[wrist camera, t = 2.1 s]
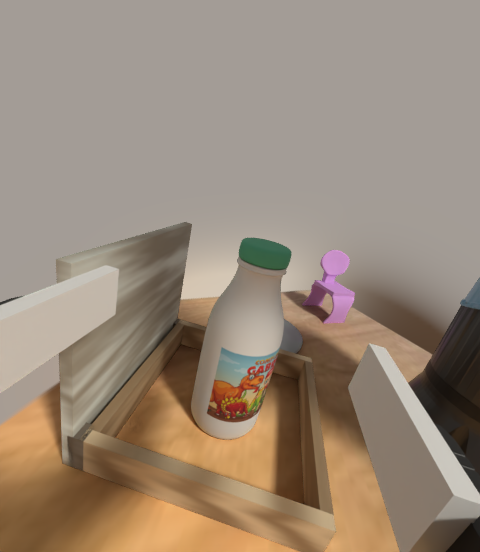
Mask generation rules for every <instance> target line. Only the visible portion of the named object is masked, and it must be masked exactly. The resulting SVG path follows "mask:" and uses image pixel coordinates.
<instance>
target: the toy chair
mask: <svg viewBox="0 0 480 552" xmlns="http://www.w3.org/2000/svg"><path fill="white" fill-rule="evenodd" d="M348 265H349V258H348V256H347V255H346V254H344V253H343V252H341V251H338V250H331V251H329V252H328V253H326V254H325V255H324V256H323V257H322V259H321V266H322V268H323V269H324V275H323V279H322V281H321V280H315V282H314V284H313V285H312V289H311V293H310V295H309V297H308V298H307V299H306V300H305V302H304V303H303V304H302V305H322V303H323V299H324V296H325V295H326V293H328V294H330V295H331V297H332V302H333V310H332V312H331V314H330V315H329V316H328V317H327V318H326V319H325V320H324V321H323V323H342V322H345V318H346V315H347V313H348V311H349V309H350V307H351V305H352V304H353V302H354V295H355V293H354V292H353V291H351V290H349V289H347V288H345V287H343V286H342V285H341V284H339V283H338V282H336V281H334V280H335V278H336V276H337V275H340V274H342V273H344V272H345V271H346V269H347V267H348Z"/></svg>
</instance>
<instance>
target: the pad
mask: <svg viewBox="0 0 480 552" xmlns="http://www.w3.org/2000/svg"><path fill="white" fill-rule="evenodd" d="M302 343H303V339H302V336H301V334H300V332H299V331H298V330H297V328H296V327H295V326H293V325H292V324H291V323H290V322H288V321H287V320H285V319H284V331H283V337H282V341H281V345H280V349H282V350H285V351H289V352H292V353H295V354H297V353H298V352H299V351H300V349H301V346H302Z"/></svg>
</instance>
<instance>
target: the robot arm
mask: <svg viewBox="0 0 480 552" xmlns="http://www.w3.org/2000/svg"><path fill="white" fill-rule="evenodd" d="M118 277H119V269H117V268H114V267H111V266H107V265H105V266H102V267H100V268H97V269H94V270H92V271H89V272H86V273H84V274H81V275H79V276H76V277H73V278H71V279H68V280H65V281H63V282H60V283H58V284H55V285H52V286H50V287H47V288H44V289H42V290H39V291H36V292H34V293H31V294H29V295H26V296H21V297H16V298H11V299H9V300H6V301H3V302H0V393H2V392H3V391H5V390H6V389H8V388H9V387H11V386H12V385H13V384H15V383H16V382H18V381H19V380H21V379H22V378H24V377H25V376H27V375H28V374H29V373H31V372H32V371H34V370H35V369H37V368H38V367H40V366H41V365H43V364H44V363H45V362H47V361H48V360H50V359H51V358H53V357H54V356H55V355H57V354H59V353H60V352H61V351H63V350H64V349H66V348H67V347H69V346H70V345H72V344H73V343H75V342H76V341H77V340H79V339H80V338H82V337H83V336H85V335H86V334H88V333H89V332H91V331H92V330H93V329H95V328H96V327H98V326H99V325H101V324H102V323H104V322H105V321H107V320H108V319H109V318H111V317H112V316H114V315H115V314H116V302H117V289H118ZM460 304H461V307H460V309H459V310H458V312H457V314H456V316H455V317H454V319H453V321H452V322H451V324H450V326H449V328H448V329H447V331H446V333H445V335H444V336H443V338H442V340H441V342H440V343H439V346H438V347H437V349H436V350H435V352H434V354H433V355H432V357H431V359H430V361H429V362H428V364H427V366H426V367H425V369H424V371H423V372H422V373H420V374H419V375H418V376H416V377H415V378H414V379H413V380H411V381H410V382H409V383H407V381H406V380H405V378H404V376H403V375H402V373H401V372H400V370H399V369H398V367H397V366H396V364H395V362H394V361H393V359H392V358H391V356H390V355H389V353H388V352H387V350H386V349H385V348H383V347H380V346H377V345H373V344H370V343H369V344H368V347H367V349H366V351H365V353H364V355H363V357H362V359H361V361H360V363H359V365H358V367H357V370H356V372H355V374H354V376H353V378H352V380H351V382H350V384H349V386H348V390H349V393H350V396H351V399H352V402H353V405H354V409H355V412H356V415H357V418H358V421H359V424H360V427H361V431H362V434H363V437H364V440H365V443H366V446H367V449H368V453H369V456H370V459H371V462H372V465H373V468H374V471H375V475H376V478H377V481H378V484H379V487H380V490H381V494H382V497H383V500H384V503H385V506H386V509H387V512H388V516H389V519H390V522H391V525H392V528H393V531H394V534H395V538H396V541H397V544H398V547H399V550H400V552H480V278H479V279H478V280H477V282H476V283H475V285H474V286H473V288H472V289H471V291H470V292H469V294H468V295H467V297H466V298H465V299H463V300H462V301H461V303H460Z"/></svg>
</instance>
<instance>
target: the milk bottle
mask: <svg viewBox="0 0 480 552" xmlns="http://www.w3.org/2000/svg"><path fill="white" fill-rule="evenodd" d="M290 258H291V251H290V249H288V248H287V247H285V246H283V245H281V244H279V243H276V242H272V241H269V240H265V239H259V238H245V239H243V240H242V242H241V245H240V249H239V258H238V259H237V262H238V264H239V266H238V270H237V272H236V274H235V276H234V278H233V280H232V281H231V283H230V284H229V286H228V287H227V288H226V290H225V291H224V292H223V293H222V295H221V296H220V297H219V299H218V300H217V302H216V303H215V305H214V307H213V309H212V311H211V314H210V317H209V320H208V324H207V328H206V332H205V336H204V341H203V346H202V350H201V355H200V360H199V365H198V370H197V375H196V380H195V385H194V390H193V395H192V401H191V411H192V415H193V417H194V419H195V422H196V423H197V425H198V426H199V427H200V428H201V429H202V430H203V431H204V432H205V433H207V434H209V435H210V436H212V437H215V438H218V439H223V440H232V439H237V438H239V437H242V436H244V435H245V434H246V433H248V432H249V431H250V430H251V429H252V428H253V426H254V425H255V423H256V420H257V417H258V415H259V412H260V409H261V406H262V403H263V400H264V397H265V393H266V390H267V387H268V384H269V381H270V378H271V375H272V372H273V369H274V365H275V362H276V359H277V356H278V352H279V349H280V345H281V341H282V337H283V331H284V316H283V309H282V303H281V287H280V286H281V278H282V276H283V275H285V274H286V268H287V267H288V265H289V262H290Z"/></svg>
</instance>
